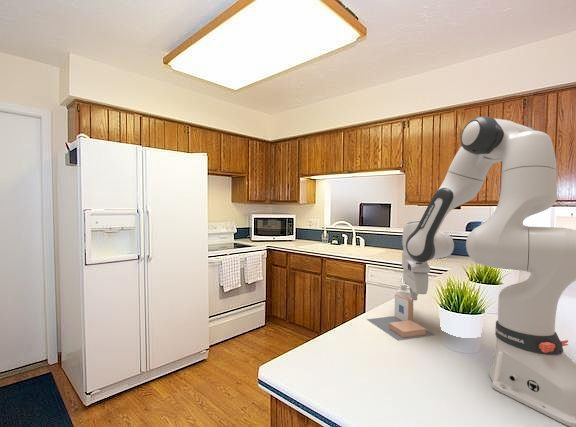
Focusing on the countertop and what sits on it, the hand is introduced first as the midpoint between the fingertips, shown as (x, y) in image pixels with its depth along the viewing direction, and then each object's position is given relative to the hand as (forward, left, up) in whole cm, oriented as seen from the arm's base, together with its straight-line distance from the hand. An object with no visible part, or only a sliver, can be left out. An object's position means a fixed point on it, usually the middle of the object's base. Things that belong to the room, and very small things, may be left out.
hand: (413, 299), depth 116 cm
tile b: (0, +4, -8) cm, 9 cm away
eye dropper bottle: (+12, -5, -8) cm, 15 cm away
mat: (-4, +10, -8) cm, 14 cm away
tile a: (-9, +6, -7) cm, 13 cm away
